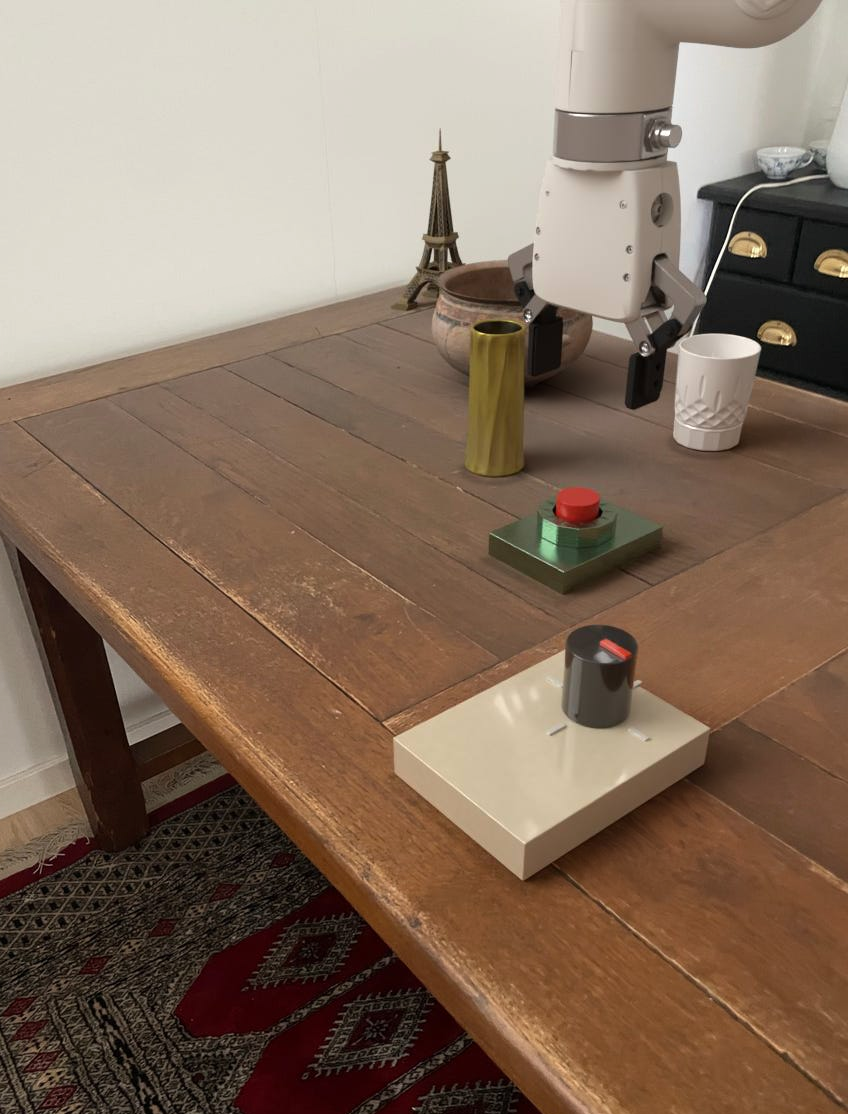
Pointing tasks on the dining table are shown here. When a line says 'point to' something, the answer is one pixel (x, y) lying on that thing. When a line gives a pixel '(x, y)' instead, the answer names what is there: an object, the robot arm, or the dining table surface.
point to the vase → (496, 398)
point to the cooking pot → (493, 315)
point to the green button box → (574, 545)
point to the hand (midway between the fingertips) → (590, 387)
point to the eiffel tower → (434, 239)
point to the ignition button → (577, 504)
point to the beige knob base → (544, 765)
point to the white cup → (713, 389)
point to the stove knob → (598, 675)
